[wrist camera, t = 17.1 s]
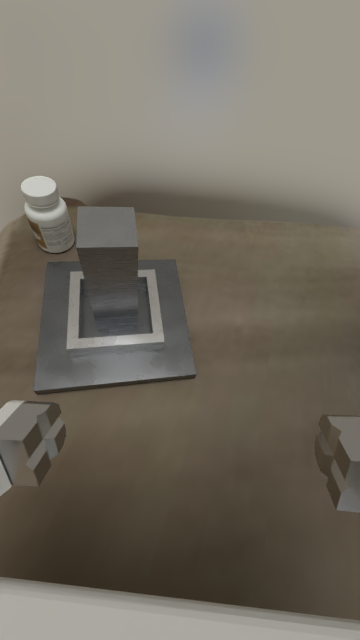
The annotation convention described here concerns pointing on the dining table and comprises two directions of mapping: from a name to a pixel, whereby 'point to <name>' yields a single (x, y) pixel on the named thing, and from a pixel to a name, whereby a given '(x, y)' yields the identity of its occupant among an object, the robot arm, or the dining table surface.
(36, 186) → the pill bottle
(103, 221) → the steel bar
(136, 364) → the block
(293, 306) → the dining table surface
